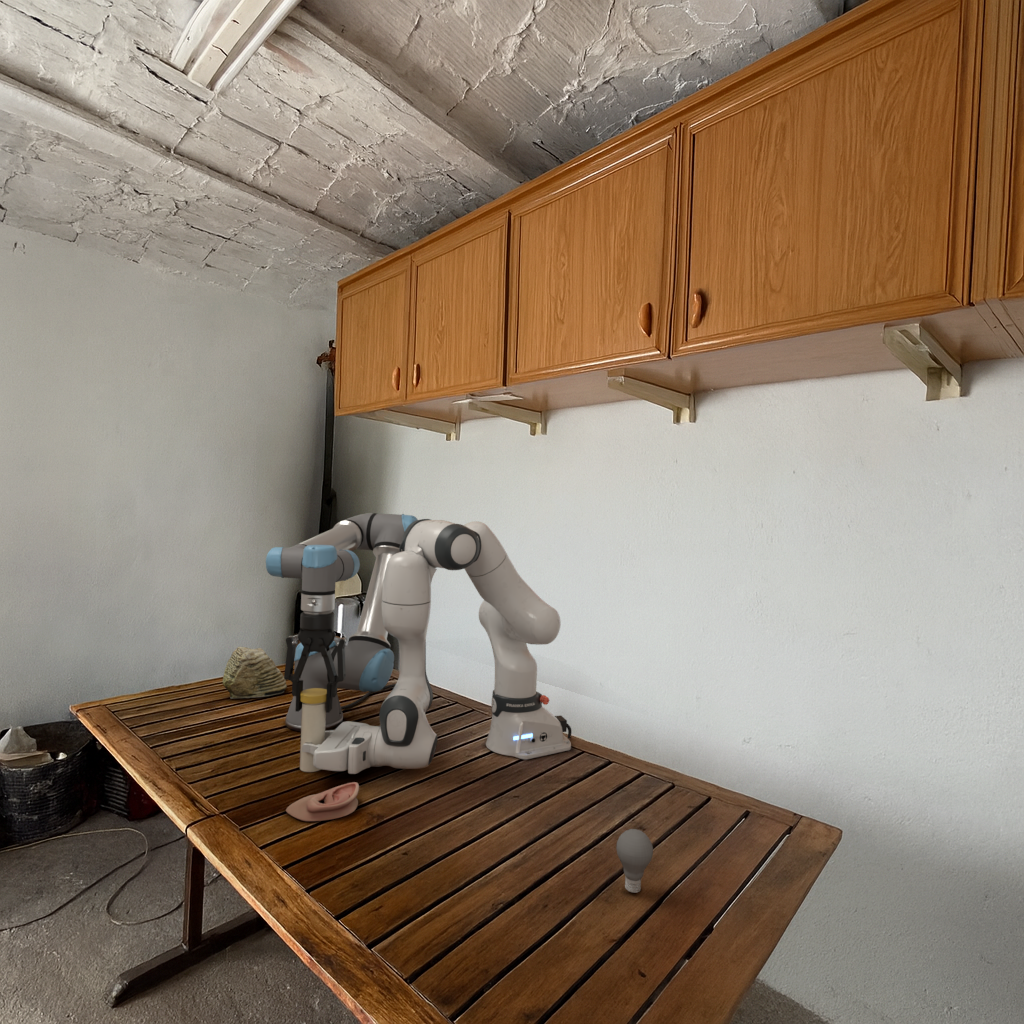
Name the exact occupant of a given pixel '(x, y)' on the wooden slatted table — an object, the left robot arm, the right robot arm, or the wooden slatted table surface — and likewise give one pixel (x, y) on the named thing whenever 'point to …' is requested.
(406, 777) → the wooden slatted table surface
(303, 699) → the lid
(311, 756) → the jar
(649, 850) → the light bulb
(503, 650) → the right robot arm
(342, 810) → the anatomical model
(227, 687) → the fossil
